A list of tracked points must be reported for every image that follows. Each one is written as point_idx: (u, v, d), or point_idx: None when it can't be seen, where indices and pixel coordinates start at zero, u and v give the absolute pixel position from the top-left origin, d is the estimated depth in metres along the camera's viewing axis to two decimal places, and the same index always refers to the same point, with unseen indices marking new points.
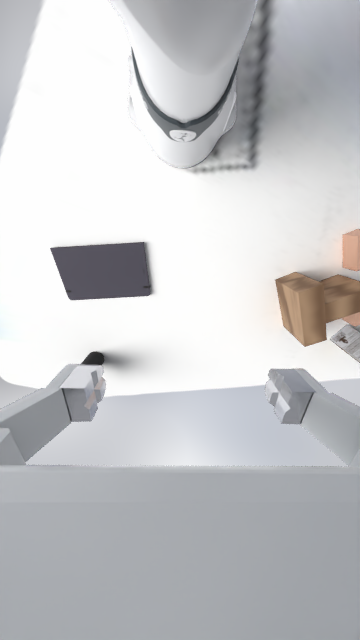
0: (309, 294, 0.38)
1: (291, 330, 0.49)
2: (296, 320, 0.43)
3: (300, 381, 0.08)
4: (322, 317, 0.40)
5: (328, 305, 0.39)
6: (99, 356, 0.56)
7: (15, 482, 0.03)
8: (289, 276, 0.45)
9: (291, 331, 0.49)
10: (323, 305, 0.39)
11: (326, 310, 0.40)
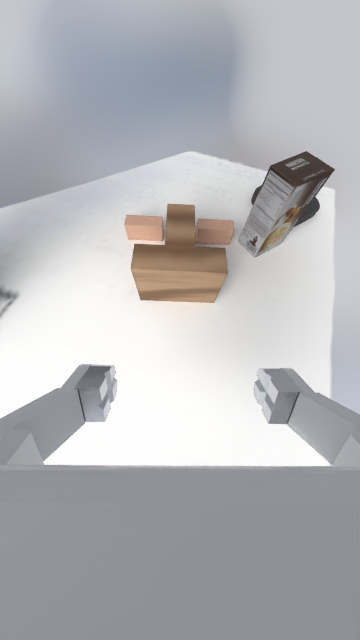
0: (140, 258, 0.29)
1: (211, 291, 0.33)
2: (184, 279, 0.30)
3: (287, 381, 0.08)
4: (183, 249, 0.30)
5: (168, 242, 0.30)
6: None
7: (15, 482, 0.03)
8: None
9: (213, 291, 0.34)
10: (165, 246, 0.30)
11: (174, 244, 0.30)
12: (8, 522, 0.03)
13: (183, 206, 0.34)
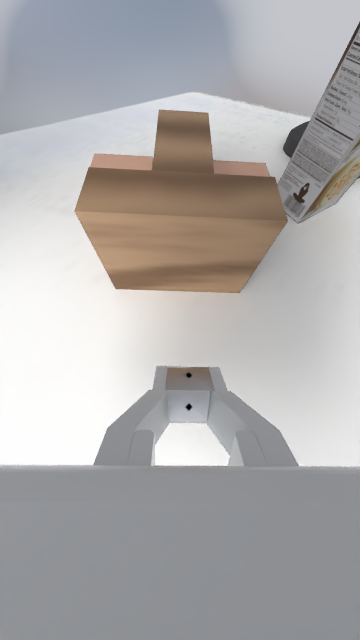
0: (99, 191, 0.13)
1: (241, 269, 0.18)
2: (192, 242, 0.15)
3: (205, 379, 0.08)
4: (191, 177, 0.14)
5: (159, 165, 0.15)
6: None
7: (15, 482, 0.03)
8: None
9: (244, 270, 0.18)
10: (153, 172, 0.14)
11: (171, 168, 0.15)
12: (8, 523, 0.03)
13: (188, 114, 0.18)
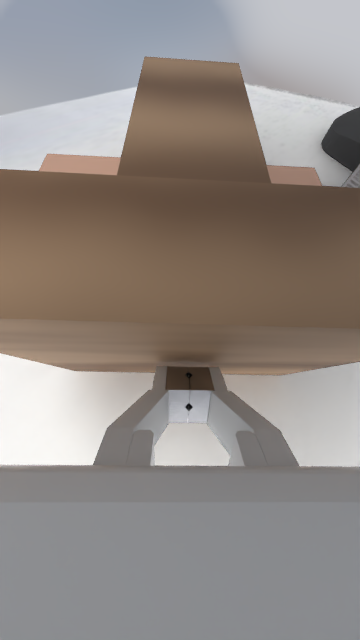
0: None
1: (303, 366, 0.09)
2: (215, 349, 0.06)
3: (206, 379, 0.08)
4: (215, 192, 0.06)
5: (134, 163, 0.06)
6: None
7: (15, 482, 0.03)
8: None
9: (309, 366, 0.09)
10: (119, 181, 0.06)
11: (165, 170, 0.06)
12: (8, 522, 0.03)
13: (200, 64, 0.09)
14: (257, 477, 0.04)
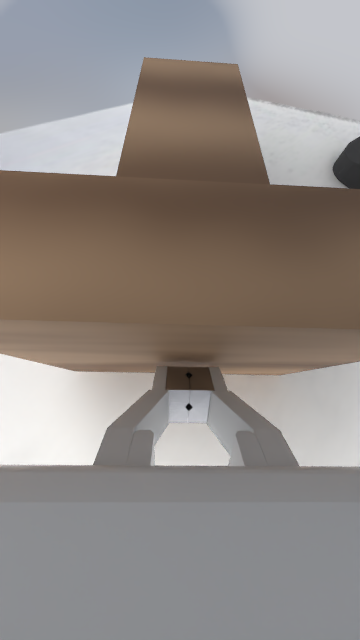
0: None
1: (302, 366, 0.09)
2: (214, 349, 0.06)
3: (206, 379, 0.08)
4: (214, 194, 0.06)
5: (134, 164, 0.06)
6: None
7: (15, 482, 0.03)
8: None
9: (308, 366, 0.09)
10: (118, 182, 0.06)
11: (164, 171, 0.06)
12: (8, 522, 0.03)
13: (199, 65, 0.09)
14: (257, 477, 0.04)
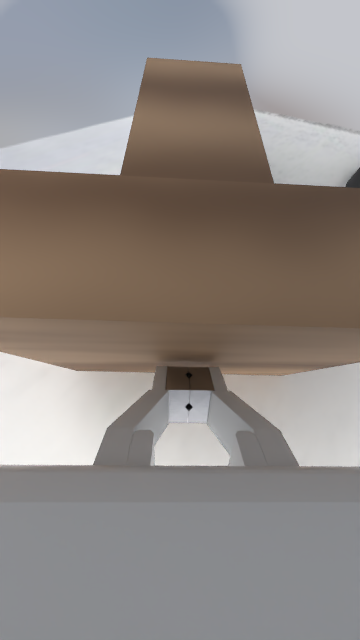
0: None
1: (305, 366, 0.09)
2: (218, 349, 0.06)
3: (206, 379, 0.08)
4: (218, 193, 0.06)
5: (138, 163, 0.06)
6: None
7: (15, 482, 0.03)
8: None
9: (311, 366, 0.09)
10: (122, 181, 0.06)
11: (168, 171, 0.06)
12: (8, 522, 0.03)
13: (202, 65, 0.10)
14: (257, 477, 0.04)
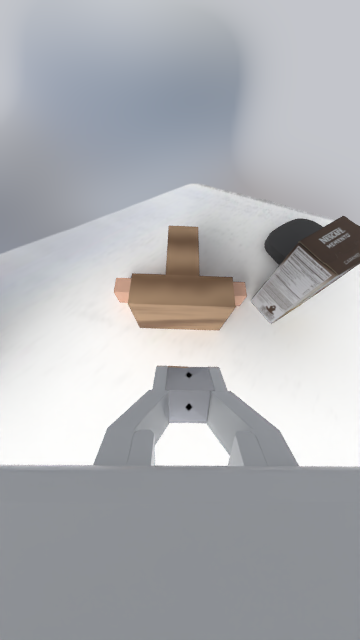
0: (139, 290, 0.26)
1: (216, 321, 0.30)
2: (187, 312, 0.27)
3: (205, 379, 0.08)
4: (186, 278, 0.27)
5: (169, 271, 0.27)
6: None
7: (15, 482, 0.03)
8: None
9: (219, 321, 0.31)
10: (166, 276, 0.27)
11: (176, 273, 0.27)
12: (8, 523, 0.03)
13: (186, 228, 0.31)
14: (257, 477, 0.04)
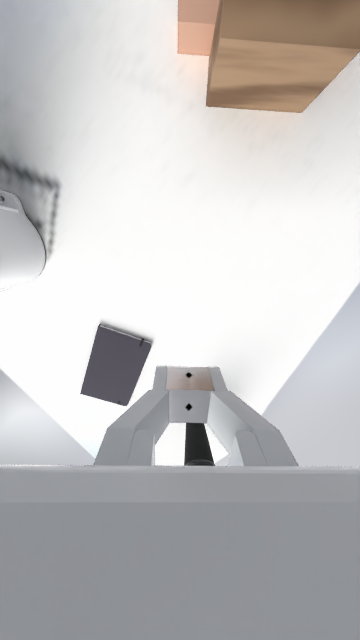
0: (236, 6, 0.18)
1: (312, 89, 0.24)
2: (287, 64, 0.21)
3: (205, 379, 0.08)
4: None
5: None
6: None
7: (15, 482, 0.03)
8: (209, 72, 0.26)
9: (314, 90, 0.24)
10: None
11: None
12: (8, 522, 0.03)
13: None
14: (257, 477, 0.04)
